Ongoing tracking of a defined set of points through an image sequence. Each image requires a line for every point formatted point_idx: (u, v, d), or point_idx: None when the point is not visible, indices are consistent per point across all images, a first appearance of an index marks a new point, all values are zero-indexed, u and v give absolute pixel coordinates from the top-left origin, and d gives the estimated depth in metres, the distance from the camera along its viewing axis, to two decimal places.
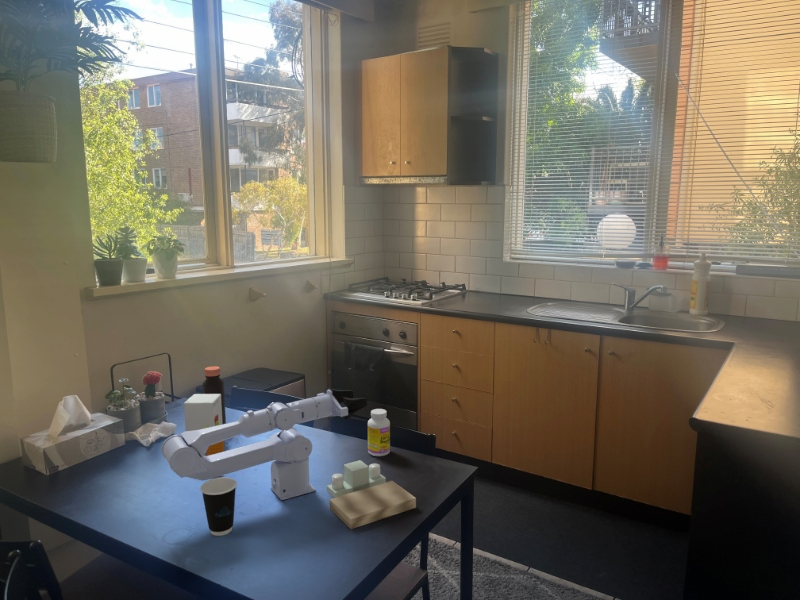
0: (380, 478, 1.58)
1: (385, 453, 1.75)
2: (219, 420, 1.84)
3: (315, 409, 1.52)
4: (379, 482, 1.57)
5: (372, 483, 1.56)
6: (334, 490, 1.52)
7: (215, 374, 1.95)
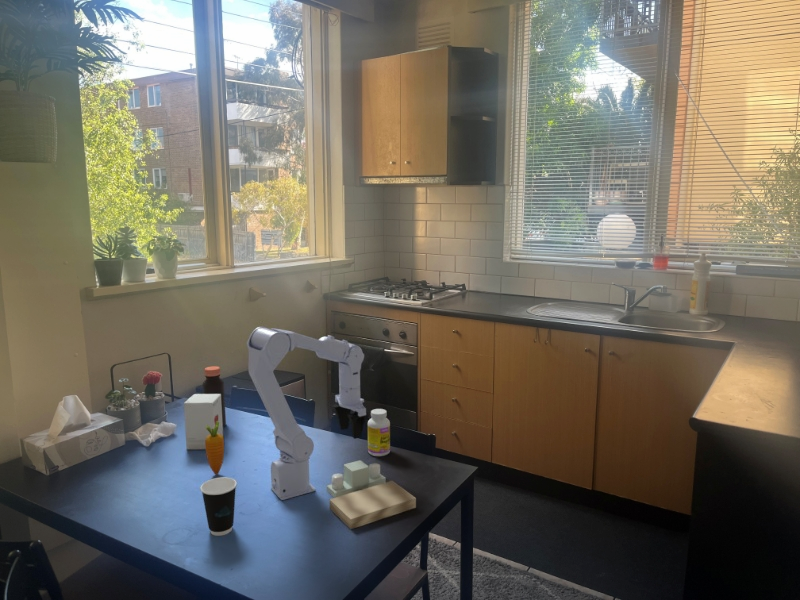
0: (380, 478, 1.58)
1: (385, 453, 1.75)
2: (219, 420, 1.84)
3: (357, 385, 1.62)
4: (379, 482, 1.57)
5: (372, 483, 1.56)
6: (334, 490, 1.52)
7: (215, 374, 1.95)
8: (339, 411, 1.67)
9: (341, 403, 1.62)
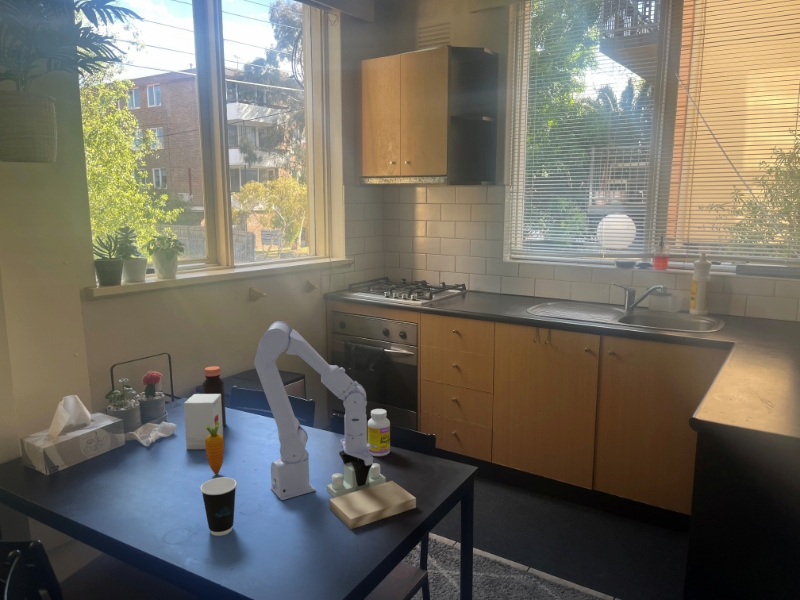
0: (380, 478, 1.58)
1: (385, 453, 1.75)
2: (219, 420, 1.84)
3: (358, 433, 1.51)
4: (379, 482, 1.57)
5: (372, 483, 1.56)
6: (334, 490, 1.52)
7: (215, 374, 1.95)
8: (346, 459, 1.57)
9: (346, 450, 1.53)
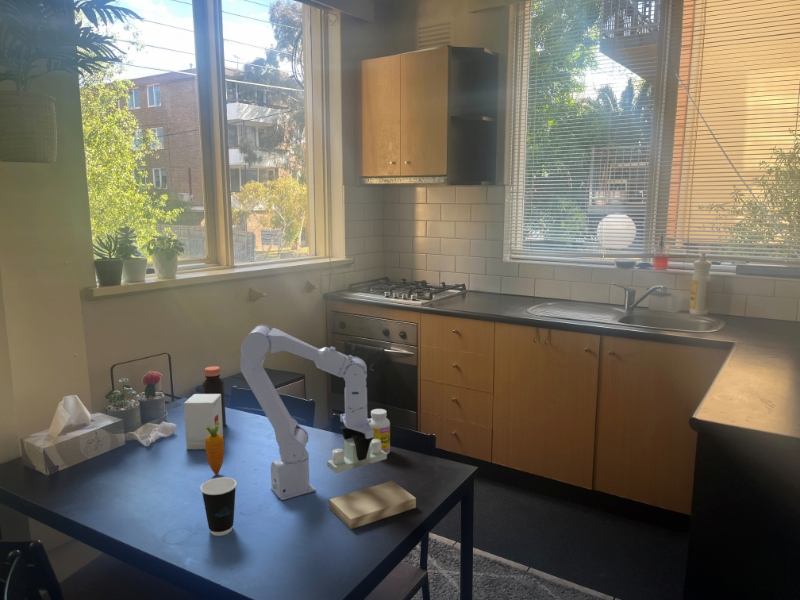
0: (381, 453, 1.56)
1: None
2: (219, 420, 1.84)
3: (358, 406, 1.49)
4: (380, 457, 1.56)
5: (373, 458, 1.54)
6: (335, 465, 1.50)
7: (215, 374, 1.95)
8: (346, 433, 1.55)
9: (347, 424, 1.51)
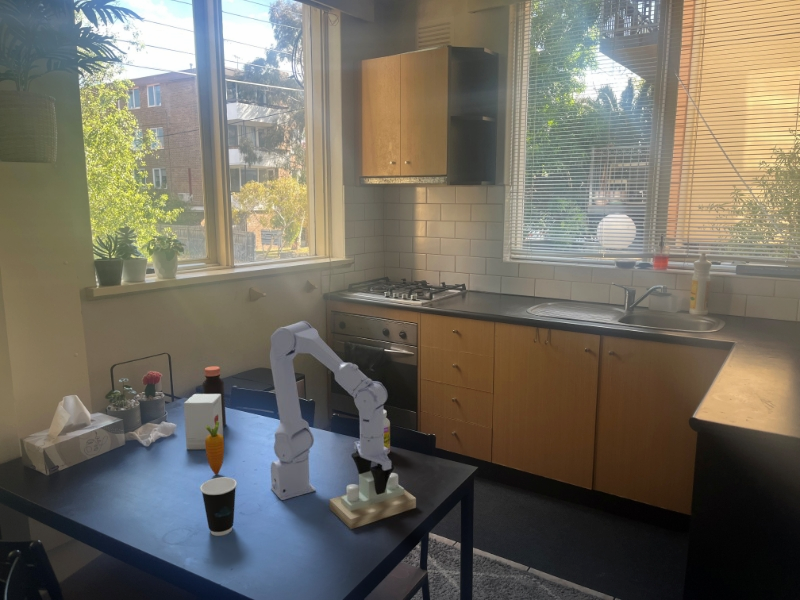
0: (398, 489, 1.47)
1: None
2: (219, 420, 1.84)
3: (368, 435, 1.39)
4: (397, 493, 1.46)
5: (389, 494, 1.45)
6: (349, 502, 1.40)
7: (215, 374, 1.95)
8: (359, 461, 1.46)
9: (362, 453, 1.41)
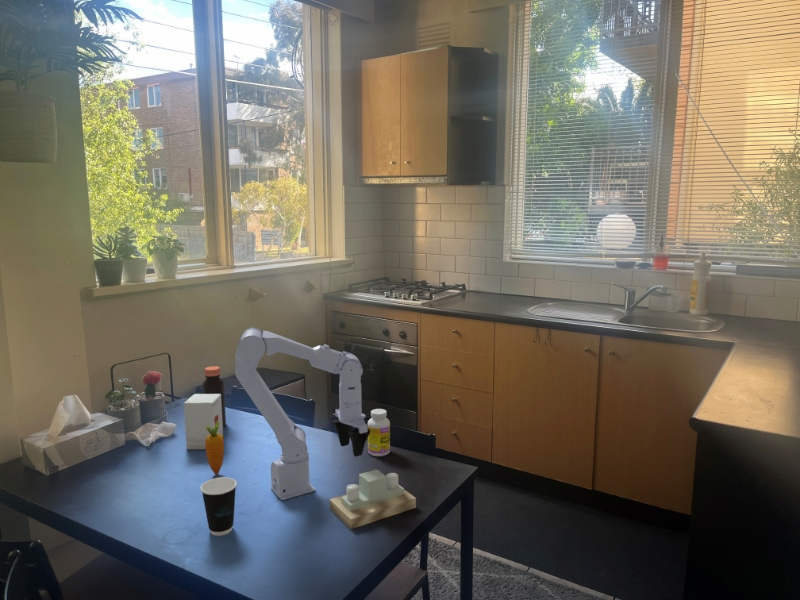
0: (398, 489, 1.47)
1: (385, 453, 1.75)
2: (219, 420, 1.84)
3: (354, 401, 1.52)
4: (397, 493, 1.46)
5: (389, 494, 1.45)
6: (349, 502, 1.40)
7: (215, 374, 1.95)
8: (339, 427, 1.58)
9: (341, 419, 1.53)
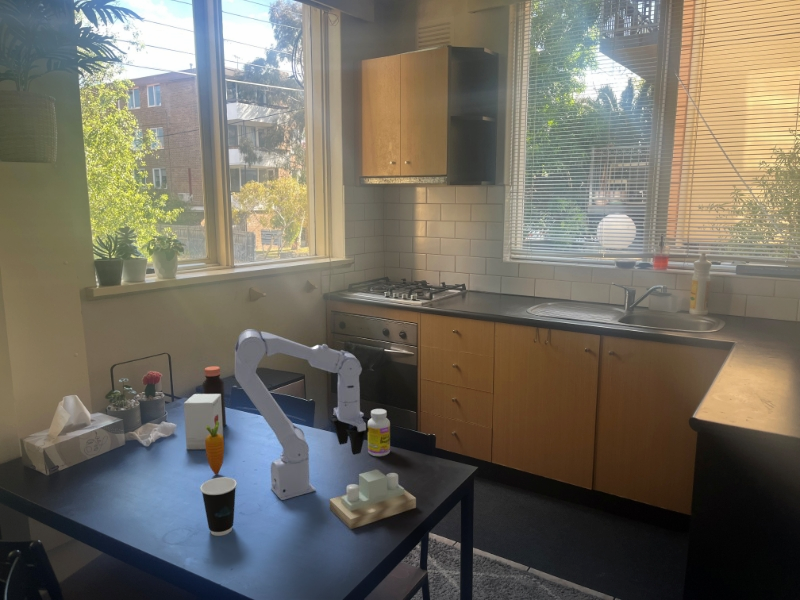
0: (398, 489, 1.47)
1: (385, 453, 1.75)
2: (219, 420, 1.84)
3: (353, 399, 1.53)
4: (397, 493, 1.46)
5: (389, 494, 1.45)
6: (349, 502, 1.40)
7: (215, 374, 1.95)
8: (338, 425, 1.59)
9: (340, 417, 1.54)
